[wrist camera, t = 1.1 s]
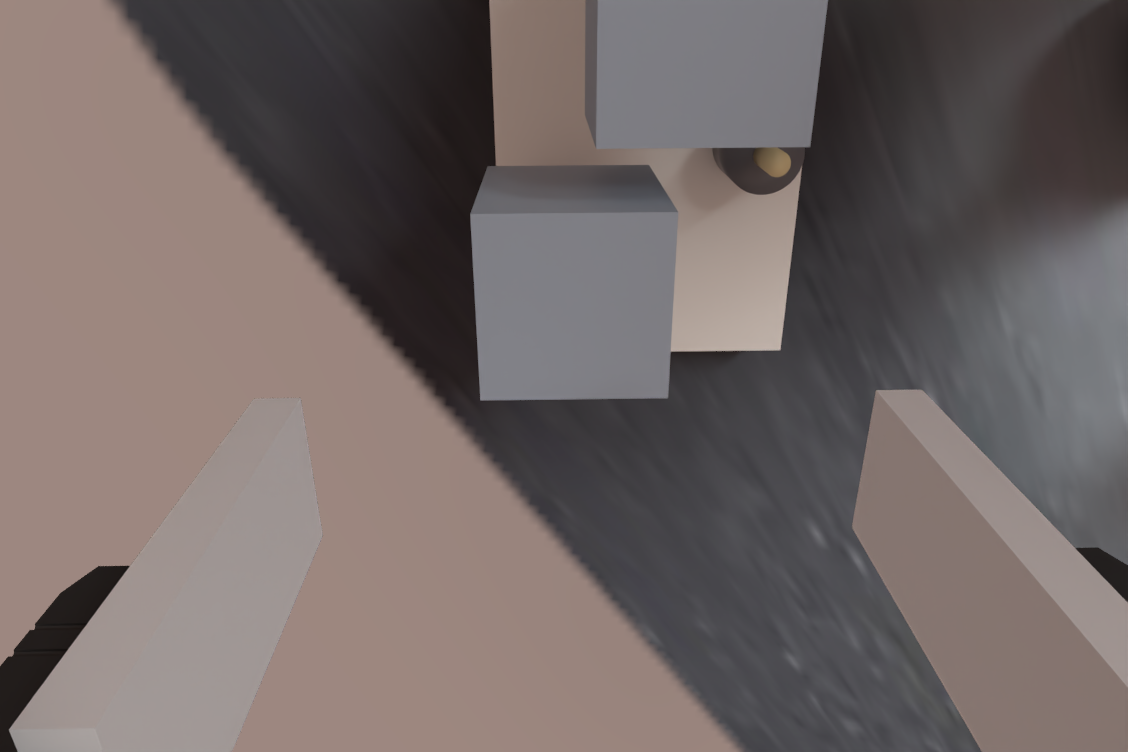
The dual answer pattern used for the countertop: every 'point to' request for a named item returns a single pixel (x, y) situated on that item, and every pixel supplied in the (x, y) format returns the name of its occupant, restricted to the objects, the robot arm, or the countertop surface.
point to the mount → (688, 175)
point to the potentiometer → (760, 167)
